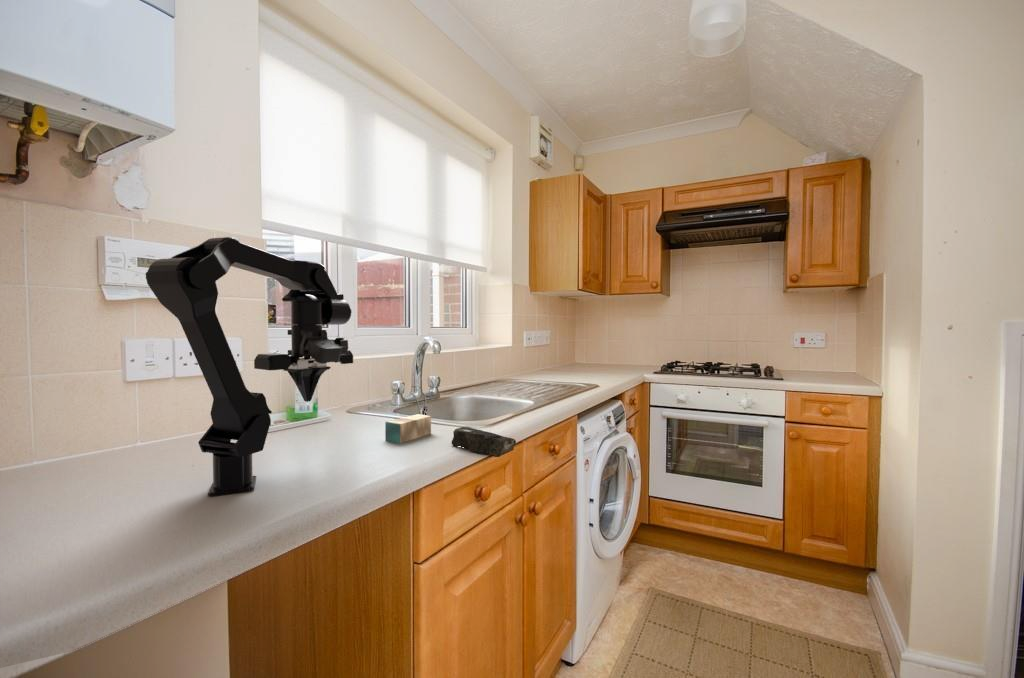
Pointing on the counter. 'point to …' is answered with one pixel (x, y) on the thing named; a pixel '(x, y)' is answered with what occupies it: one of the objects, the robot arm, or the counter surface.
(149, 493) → the counter surface
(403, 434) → the block
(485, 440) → the rock
